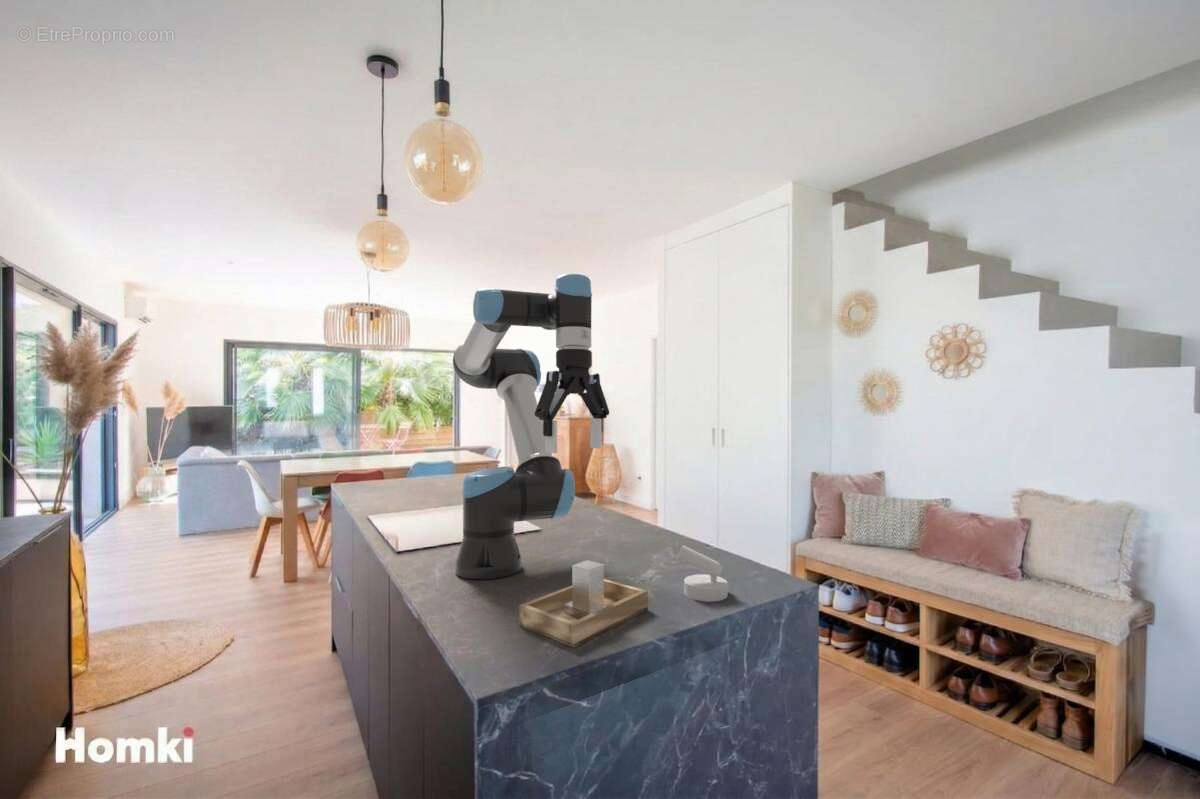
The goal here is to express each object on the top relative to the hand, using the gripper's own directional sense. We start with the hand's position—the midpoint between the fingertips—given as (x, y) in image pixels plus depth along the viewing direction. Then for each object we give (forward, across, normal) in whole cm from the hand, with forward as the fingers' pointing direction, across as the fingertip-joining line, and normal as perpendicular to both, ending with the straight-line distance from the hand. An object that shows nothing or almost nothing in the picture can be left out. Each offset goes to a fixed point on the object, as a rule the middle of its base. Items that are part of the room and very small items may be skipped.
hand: (574, 450), depth 110 cm
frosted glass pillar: (+28, -10, -13) cm, 32 cm away
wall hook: (+29, +14, -22) cm, 39 cm away
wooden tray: (+29, -10, -12) cm, 33 cm away
